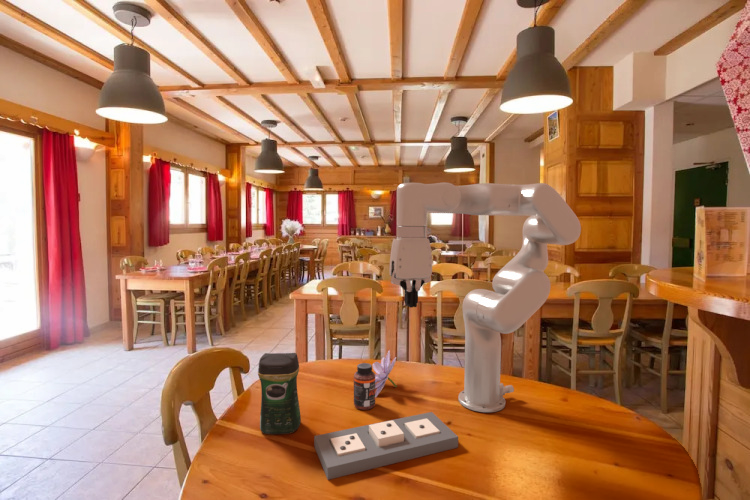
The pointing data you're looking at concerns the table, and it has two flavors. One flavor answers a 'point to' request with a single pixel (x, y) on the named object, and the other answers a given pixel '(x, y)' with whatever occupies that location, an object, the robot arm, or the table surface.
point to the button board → (384, 454)
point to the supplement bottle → (364, 387)
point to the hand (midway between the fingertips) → (411, 306)
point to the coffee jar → (279, 393)
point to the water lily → (383, 372)
